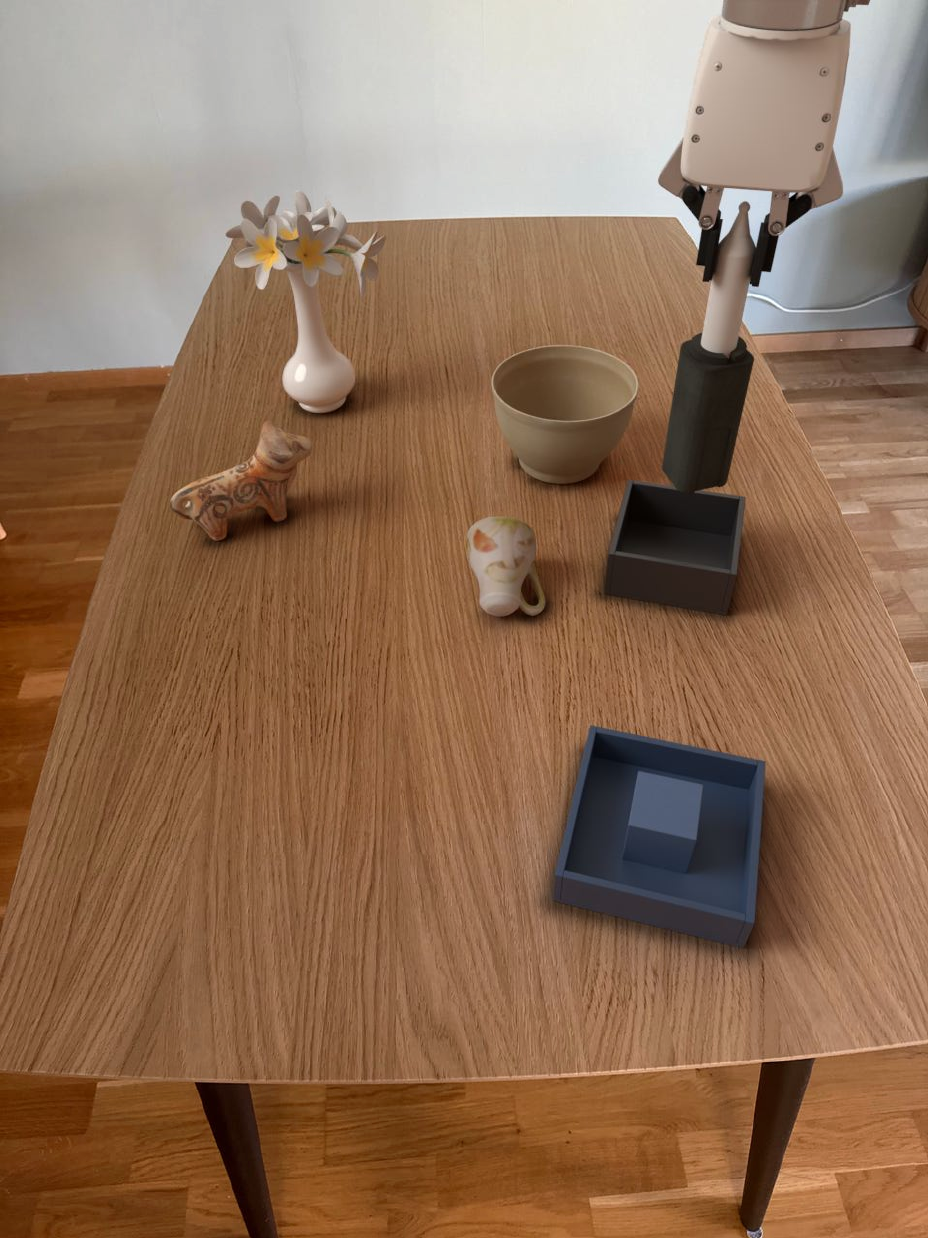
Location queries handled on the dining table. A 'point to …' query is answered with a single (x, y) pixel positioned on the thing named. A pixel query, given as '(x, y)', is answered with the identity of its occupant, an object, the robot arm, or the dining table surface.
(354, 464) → the dining table surface
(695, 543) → the charcoal bin
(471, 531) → the mug
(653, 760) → the blue bin
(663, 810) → the blue block
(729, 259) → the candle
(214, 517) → the figurine
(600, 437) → the planter bowl
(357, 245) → the flower vase
